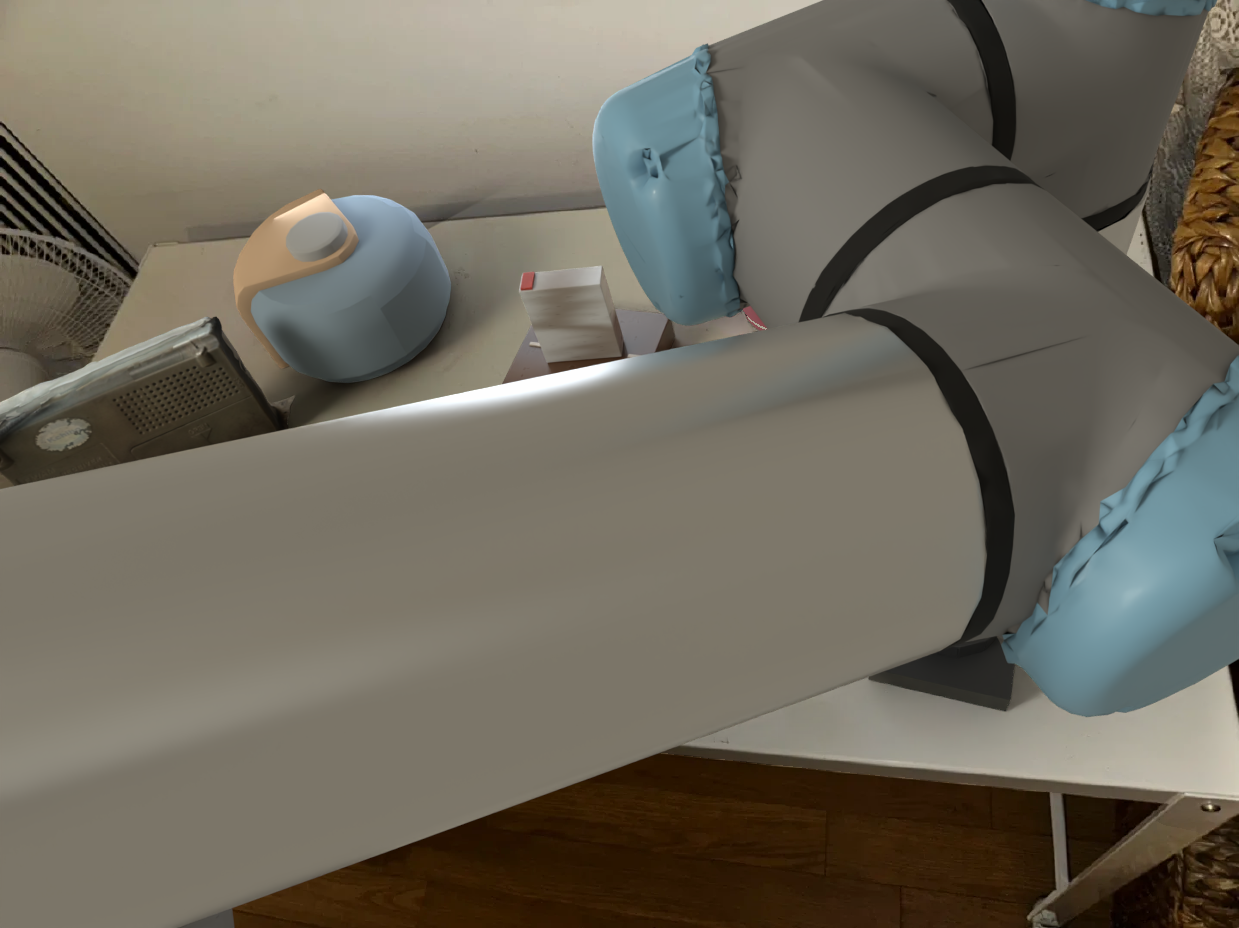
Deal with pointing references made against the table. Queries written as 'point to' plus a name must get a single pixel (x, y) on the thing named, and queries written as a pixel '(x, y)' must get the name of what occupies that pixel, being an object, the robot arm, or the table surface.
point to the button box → (959, 674)
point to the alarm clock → (342, 286)
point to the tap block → (639, 339)
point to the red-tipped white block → (572, 314)
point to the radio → (136, 407)
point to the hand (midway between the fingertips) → (955, 547)
